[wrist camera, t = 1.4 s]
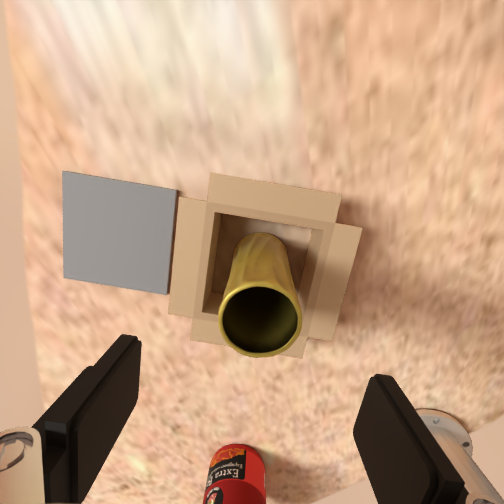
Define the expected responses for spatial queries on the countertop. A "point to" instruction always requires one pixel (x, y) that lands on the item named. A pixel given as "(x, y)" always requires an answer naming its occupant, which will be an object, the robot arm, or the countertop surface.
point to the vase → (260, 299)
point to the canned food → (236, 477)
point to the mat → (117, 232)
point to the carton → (269, 209)
